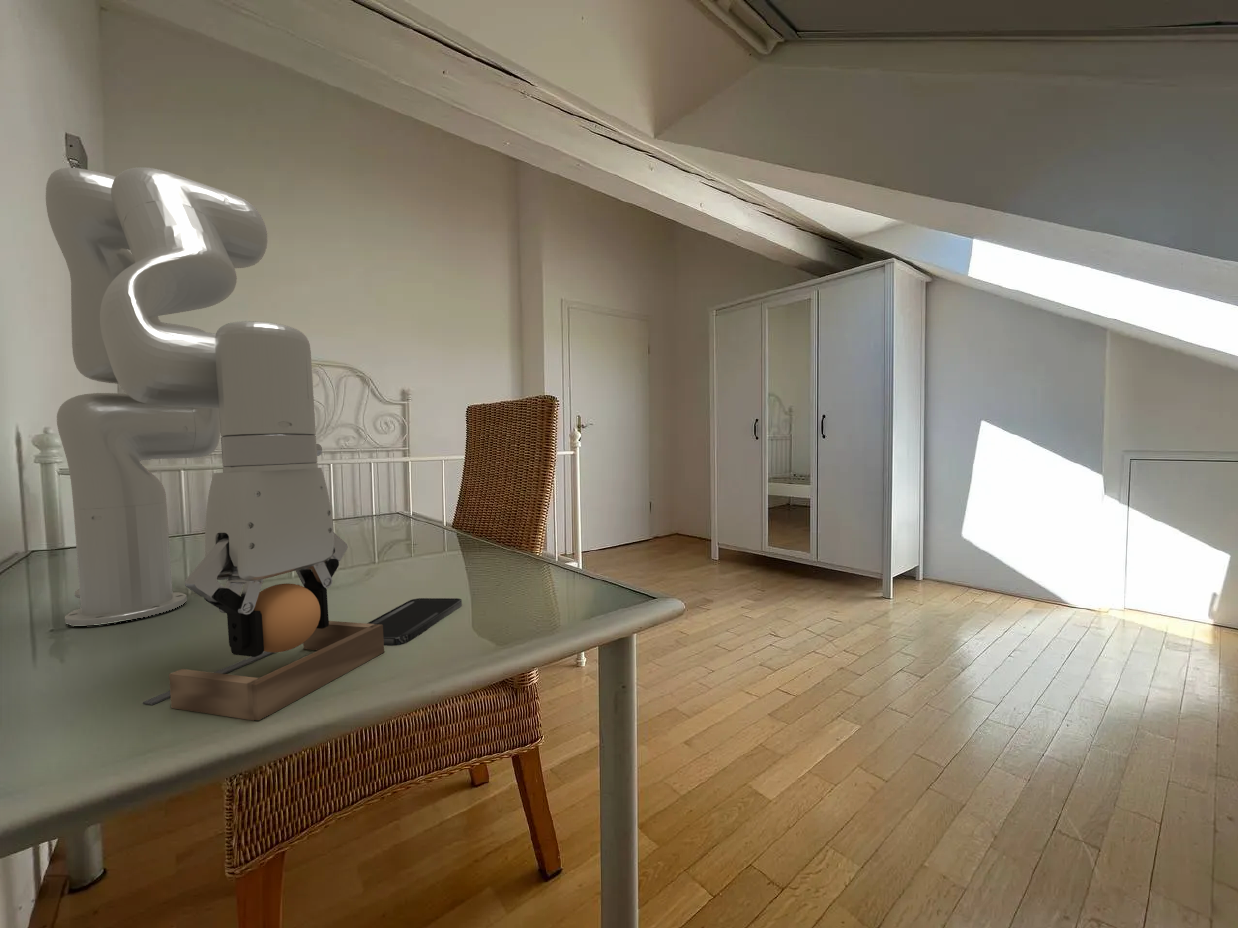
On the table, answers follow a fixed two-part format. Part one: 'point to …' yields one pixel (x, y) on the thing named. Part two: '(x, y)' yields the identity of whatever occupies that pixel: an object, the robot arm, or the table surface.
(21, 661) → the table surface
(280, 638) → the brown egg
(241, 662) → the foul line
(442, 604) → the phone
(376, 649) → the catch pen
